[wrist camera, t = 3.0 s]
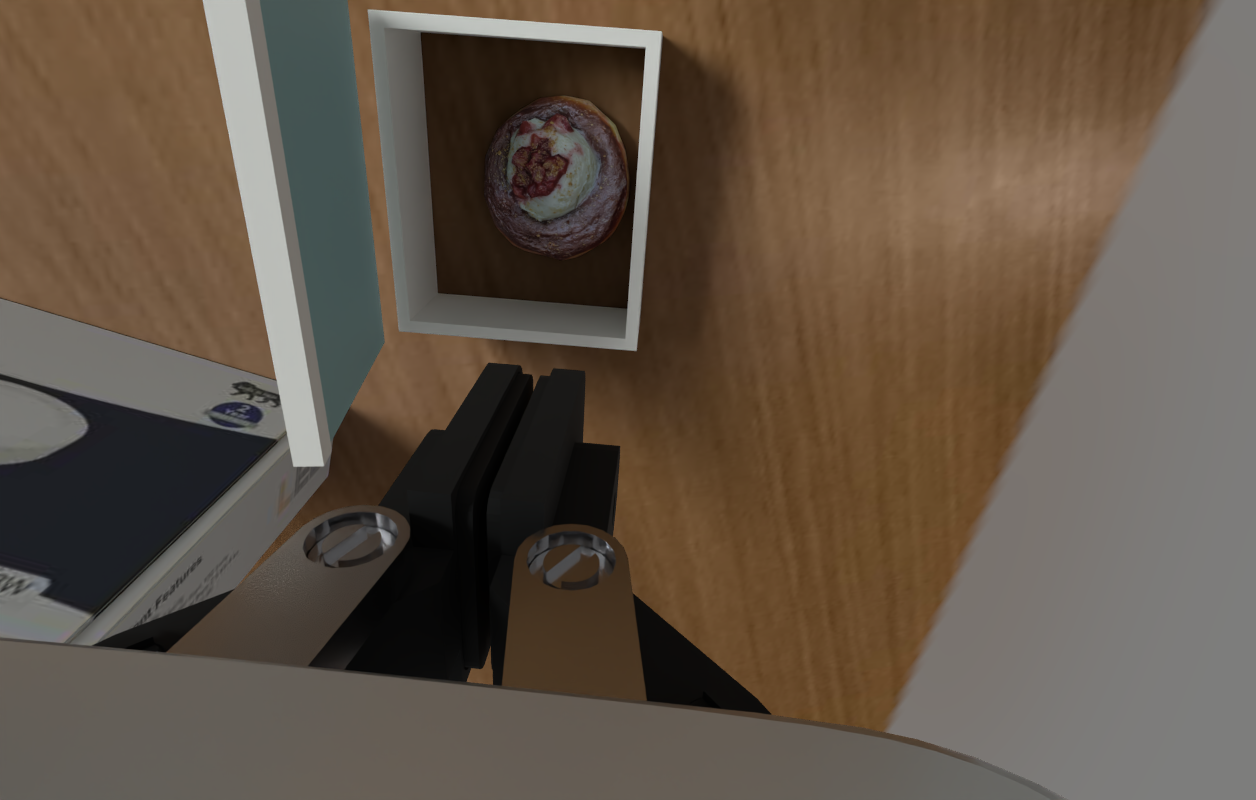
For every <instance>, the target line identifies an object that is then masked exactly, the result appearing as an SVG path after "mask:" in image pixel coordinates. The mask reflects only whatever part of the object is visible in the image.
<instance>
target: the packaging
mask: <svg viewBox="0 0 1256 800" xmlns="http://www.w3.org/2000/svg"><path fill="white" fill-rule="evenodd" d="M332 444H333V439H332V441H331V448H332ZM330 459H331V454H330V456H329V458H328V460H327V462H326V464H325V466H310V467H293V462H292V457H291V451H290V446H289V441H288V436H287V431H286V426H285V421H284V415H283V410H282V405H281V400H280V395H279V390H278V385H277V381H275V380H272V379H269V378H265V377H262V376H259V375H255V374H252V373H249V372H245V371H242V370H239V369H235V368H232V367H228V366H225V365H222V364H218V363H215V362H212V361H208V360H205V359H202V358H198V357H195V356H192V355H188V354H185V353H182V352H178V351H175V350H172V349H168V348H165V347H162V346H158V345H155V344H152V343H148V342H145V341H141V340H138V339H135V338H131V337H128V336H125V335H121V334H118V333H115V332H111V331H108V330H105V329H101V328H98V327H95V326H91V325H88V324H85V323H81V322H78V321H75V320H71V319H68V318H64V317H61V316H58V315H54V314H51V313H48V312H44V311H41V310H38V309H34V308H31V307H28V306H24V305H21V304H18V303H14V302H11V301H8V300H4V299H1V298H0V637H3V638H14V639H25V640H35V641H46V642H57V643H67V644H78V645H89V646H92V645H94V644H96V643H98V642H100V641H102V640H104V639H107V638H109V637H111V636H113V635H115V634H118V633H121V632H123V631H126V630H128V629H131V628H134V627H136V626H139V625H141V624H144V623H147V622H149V621H152V620H155V619H157V618H160V617H162V616H165V615H168V614H170V613H173V612H175V611H178V610H181V609H183V608H186V607H188V606H191V605H194V604H196V603H199V602H202V601H204V600H207V599H209V598H212V597H215V596H217V595H220V594H222V593H225V592H228V591H230V590H233V589H235V588H236V587H237V585H238V584H239V583H240V582H241V581H242V579H243V578H244V577H245V576H246V575H247V573H248V572H249V571H250V570H251V569H252V567H253V566H254V565H255V564H256V562H257V561H258V560H259V559H260V558H261V556H262V555H263V554H264V553H265V552H266V550H267V549H268V548H269V547H270V546H271V544H272V543H273V542H274V541H275V540H276V538H277V537H278V536H279V535H280V533H281V532H282V531H283V530H284V529H285V527H286V526H287V525H288V524H289V523H290V521H291V520H292V519H293V518H294V517H295V515H296V514H297V513H298V512H299V511H300V509H301V508H302V507H303V506H304V504H305V503H306V502H307V501H308V500H309V498H310V497H311V496H312V495H313V494H314V492H315V491H316V490H317V489H318V488H319V486H320V485H321V484H322V483H323V482H324V480H325V479H326V478H327V477H328V475H329V467H330Z"/></svg>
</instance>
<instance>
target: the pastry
mask: <svg viewBox="0 0 1256 800" xmlns="http://www.w3.org/2000/svg"><path fill="white" fill-rule="evenodd" d="M629 196H630V174H629V168H628V162H627V156H626V149H625V147H624V144H623V142H622V140H621V138H620V136H619V133H618V130H617V127H616V125H615V124H614V123H613V122H612V121H611V120H610V119H609V118H608V117H607V116H605V115H604V114H603V113H602V112H601V111H600V110H599V109H598V108H597V107H596V106H595V105H594V104H592V103H591V102H590V101H589V100H584V99H579V98H575V97H570V96H565V95H563V96H553V97H542V98H539V99H537V100H535V101H534V102H532V103H530V104H528V105H527V106H525V107H523V108H521V109H520V110H519V111H518V112H516V113H515V114H514V115H512V116H511V117H510V118H509V119H508V120H507V121H506V122H505V123H504V124H503V125H502V126H501V127H500V128H499V129H498V130H497V131H496V133H495V136H494V138H493V140H492V142H491V145H490V147H489V149H488V152H487V154H486V156H485V187H484V197H485V200H486V203H487V205H488V208H489V211H490V213H491V216H492V219H493V222H494V224H495V227H496V228H497V229H498V230H499V231H500V232H501V233H502V234H503V235H504V236H505V237H506V238H507V239H508V240H509V241H510V242H511V243H512V245H514V246H516V247H518V248H520V249H522V250H524V251H526V252H530V253H535V254H539V255H543V256H547V257H552V258H555V259H558V260H566V259H572V258H577V257H580V256H582V255H583V254H585V253H587V252H588V251H590V250H592V249H593V248H595V247H597V246H598V245H600V244H601V243H603V242H605V241H606V240H608V239H609V238H610V237H611V235H612V234H613V233H614V231H615V230H616V228H617V227H618V224H619V222H620V220H621V218H622V216H623V214H624V212H625V209H626V206H627V202H628V199H629Z"/></svg>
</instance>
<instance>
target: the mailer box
mask: <svg viewBox="0 0 1256 800" xmlns="http://www.w3.org/2000/svg"><path fill="white" fill-rule="evenodd" d="M368 17H369V27H370V38H371V48H372V58H373V68H374V79H375V89H376V99H377V110H378V120H379V130H380V140H381V151H382V161H383V171H384V182H385V192H386V202H387V212H388V223H389V233H390V243H391V254H392V264H393V274H394V284H395V295H396V305H397V315H398V325H399V331H403V332H415V333H427V334H439V335H451V336H463V337H475V338H487V339H499V340H511V341H523V342H535V343H547V344H559V345H570V346H582V347H594V348H606V349H618V350H630V351H637V343H638V334H639V325H640V314H641V302H642V289H643V277H644V264H645V252H646V239H647V226H648V214H649V201H650V189H651V176H652V164H653V151H654V139H655V126H656V113H657V101H658V88H659V76H660V63H661V51H662V38H663V35H662V31H650V30H637V29H623V28H610V27H596V26H583V25H569V24H556V23H543V22H529V21H516V20H502V19H489V18H475V17H462V16H448V15H435V14H421V13H408V12H395V11H381V10H368ZM421 32H425V33H438V34H451V35H465V36H478V37H491V38H505V39H518V40H531V41H545V42H558V43H572V44H585V45H598V46H612V47H625V48H638V49H646V51H645V65H644V80H643V94H642V108H641V123H640V137H639V151H638V165H637V180H636V194H635V208H634V223H633V237H632V251H631V266H630V280H629V294H628V309H625V308H612V307H600V306H588V305H576V304H564V303H552V302H540V301H527V300H515V299H503V298H491V297H479V296H467V295H454V294H442V293H438V287H437V272H436V257H435V242H434V227H433V212H432V197H431V182H430V167H429V152H428V137H427V122H426V107H425V92H424V77H423V62H422V47H421Z"/></svg>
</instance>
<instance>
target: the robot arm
mask: <svg viewBox="0 0 1256 800" xmlns="http://www.w3.org/2000/svg"><path fill="white" fill-rule="evenodd" d="M584 401H585V371H578V370H567V369H555V368H554V369H553V370H552V373H551V375H550V376H542V375H541V376H540V378H539V380H538V382H537V384H536V387H535V389H534V391H533V377H532V375H530V374H523V373H522V368H521V366H520V365H509V364H498V363H488V364H487V366H486V367H485V369H484V370H483V372H482V373H481V375H480V377H479V378H478V380H477V381H476V383H475V384H474V386H473V388H472V389H471V391H470V392H469V394H468V395H467V397H466V398H465V400H464V402H463V403H462V405H461V406H460V408H459V409H458V411H457V413H456V414H455V416H454V417H453V419H452V420H451V422H450V424H449V425H448V427H447V428H446V430H436V429H434V430H431V431H430V432H429V433H428V434H427V435H426V436H425V438H424V439H423V441H422V442H421V444H420V445H419V447H418V448H417V450H416V451H415V452H414V454H413V455H412V457H411V458H410V460H409V461H408V463H407V464H406V466H405V467H404V469H403V470H402V472H401V473H400V474H399V476H398V477H397V479H396V480H395V482H394V483H393V485H392V486H391V488H390V489H389V491H388V492H387V494H386V495H385V496H384V498H383V499H382V501H381V502H380V504H379V505H378V506H373V505H359V506H348V507H344V508H340V509H336V510H332V511H329V512H327V513H325V514H323V515H321V516H318V517H316V518H314V519H313V520H311V521H310V522H308V523H307V524H306V525H304V526H303V527H302V528H300V529H299V530H298V531H297V532H296V533H295V534H294V535H293V536H292V537H291V538H290V539H288V540H287V541H286V542H285V543H284V544H283V545H282V546H281V547H280V548H279V549H278V550H277V551H275V552H274V553H273V554H272V555H271V556H270V557H269V558H268V559H267V560H266V561H265V562H264V563H262V564H261V565H260V566H259V567H258V568H257V569H256V570H255V571H254V572H253V573H252V574H251V575H249V576H248V577H247V578H246V579H245V580H244V581H243V582H242V583H241V584H240V585H239V586H238V587H236V588H235V589H233V590H230V591H228V592H225V593H222V594H220V595H217V596H215V597H212V598H209V599H207V600H204V601H202V602H199V603H196V604H194V605H191V606H188V607H186V608H183V609H181V610H178V611H175V612H173V613H170V614H168V615H165V616H162V617H160V618H157V619H155V620H152V621H149V622H147V623H144V624H141V625H139V626H136V627H134V628H131V629H128V630H126V631H123V632H121V633H118V634H115V635H113V636H111V637H109V638H107V639H104V640H102V641H100V642H98V643H96V644H94V645H92V646H89V645H78V644H67V643H57V642H46V641H35V640H25V639H14V638H3V637H0V800H1067V799H1066V798H1064V797H1062V796H1060V795H1058V794H1056V793H1054V792H1052V791H1050V790H1048V789H1047V788H1045V787H1043V786H1041V785H1039V784H1037V783H1034V782H1032V781H1030V780H1027V779H1025V778H1023V777H1020V776H1018V775H1015V774H1013V773H1011V772H1008V771H1006V770H1004V769H1002V768H999V767H997V766H994V765H992V764H990V763H988V762H985V761H983V760H981V759H978V758H975V757H972V756H969V755H966V754H963V753H959V752H956V751H953V750H950V749H947V748H943V747H940V746H937V745H934V744H930V743H927V742H924V741H920V740H917V739H913V738H908V737H903V736H899V735H894V734H889V733H885V732H880V731H875V730H871V729H866V728H862V727H855V726H847V725H840V724H833V723H825V722H818V721H811V720H804V719H797V718H790V717H783V716H776V715H771V713H770V712H769V711H768V710H767V709H766V708H765V707H764V706H763V705H762V704H761V702H760V701H759V700H758V699H757V698H756V697H754V696H753V695H752V694H751V693H750V692H749V691H747V690H746V689H745V688H744V687H743V686H742V685H740V684H739V683H738V682H737V681H736V680H734V679H733V678H732V677H731V676H730V675H729V674H727V673H726V672H725V671H724V670H723V669H721V668H720V667H719V666H718V665H717V664H716V663H714V662H713V661H712V660H711V659H710V658H709V657H707V656H706V655H705V654H704V653H703V652H701V651H700V650H699V649H698V648H697V647H696V646H694V645H693V644H692V643H691V642H690V641H688V640H687V639H686V638H685V637H684V636H683V635H681V634H680V633H679V632H678V631H677V630H676V629H674V628H673V627H672V626H671V625H670V624H668V623H667V622H666V621H665V620H664V619H663V618H661V617H660V616H659V615H658V614H657V613H655V612H654V611H653V610H652V609H651V608H650V607H648V606H647V605H646V604H645V603H644V602H643V601H641V600H640V599H639V598H638V597H637V596H635V595H634V594H633V592H632V585H631V577H630V570H629V562H628V557H627V554H626V552H625V549H624V547H623V546H622V545H621V544H620V543H619V541H618V540H617V539H616V538H615V537H613V530H614V521H615V511H616V500H617V488H618V474H619V460H620V446H614V445H603V444H592V443H583V425H584ZM490 646H491V665H492V670H493V685H489V684H479V683H470V682H467V679H468V676H469V673H470V670H471V668H476V669H482V668H483V666H484V664H485V661H486V658H487V655H488V652H489V649H490Z"/></svg>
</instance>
